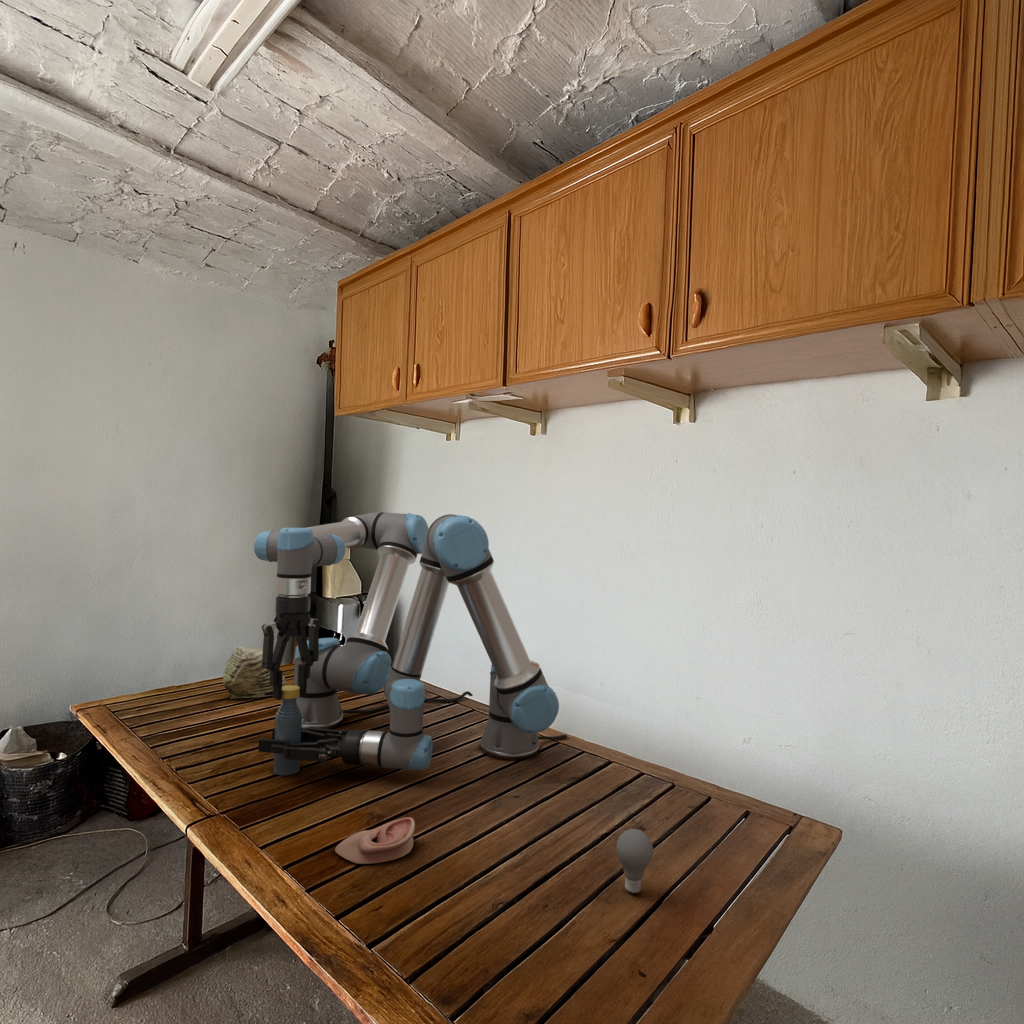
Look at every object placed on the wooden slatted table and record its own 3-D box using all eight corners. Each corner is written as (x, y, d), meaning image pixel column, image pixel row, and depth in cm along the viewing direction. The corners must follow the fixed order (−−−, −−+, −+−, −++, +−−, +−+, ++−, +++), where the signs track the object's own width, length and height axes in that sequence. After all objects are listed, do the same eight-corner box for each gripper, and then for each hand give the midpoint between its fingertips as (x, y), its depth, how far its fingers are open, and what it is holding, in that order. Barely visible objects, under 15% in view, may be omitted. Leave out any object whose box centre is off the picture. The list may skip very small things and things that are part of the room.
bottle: (267, 770, 145) (270, 691, 145) (289, 762, 150) (292, 685, 150) (284, 777, 142) (287, 696, 142) (305, 769, 147) (308, 690, 146)
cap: (288, 692, 148) (288, 684, 148) (303, 694, 147) (303, 686, 147) (275, 697, 144) (275, 689, 144) (291, 700, 143) (291, 691, 143)
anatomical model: (327, 836, 111) (356, 806, 122) (326, 858, 111) (355, 826, 122) (398, 848, 108) (421, 815, 119) (397, 871, 108) (420, 836, 119)
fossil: (218, 695, 195) (220, 647, 195) (278, 685, 208) (279, 640, 207) (228, 703, 189) (230, 653, 188) (289, 692, 201) (290, 645, 201)
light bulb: (610, 879, 108) (613, 822, 108) (644, 879, 109) (647, 822, 109) (619, 902, 102) (622, 840, 102) (655, 901, 103) (658, 840, 103)
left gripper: (262, 601, 136) (258, 708, 136) (337, 594, 150) (333, 691, 150) (246, 596, 141) (242, 700, 141) (320, 590, 155) (316, 684, 155)
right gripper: (348, 782, 135) (244, 773, 137) (375, 748, 154) (284, 740, 156) (349, 747, 135) (245, 738, 137) (377, 717, 153) (285, 710, 156)
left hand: (289, 695), depth 146 cm, fingers open, 5 cm apart
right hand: (266, 739), depth 146 cm, fingers closed on bottle, 6 cm apart
